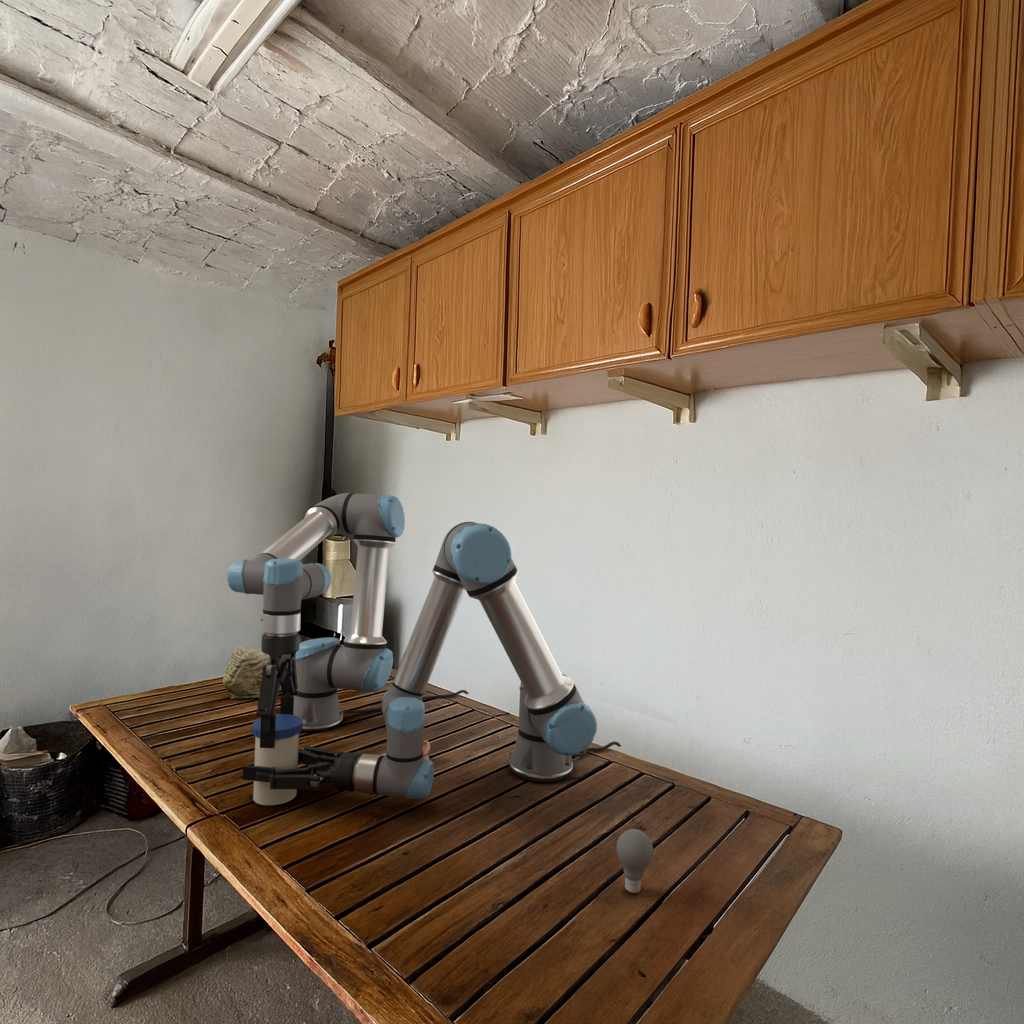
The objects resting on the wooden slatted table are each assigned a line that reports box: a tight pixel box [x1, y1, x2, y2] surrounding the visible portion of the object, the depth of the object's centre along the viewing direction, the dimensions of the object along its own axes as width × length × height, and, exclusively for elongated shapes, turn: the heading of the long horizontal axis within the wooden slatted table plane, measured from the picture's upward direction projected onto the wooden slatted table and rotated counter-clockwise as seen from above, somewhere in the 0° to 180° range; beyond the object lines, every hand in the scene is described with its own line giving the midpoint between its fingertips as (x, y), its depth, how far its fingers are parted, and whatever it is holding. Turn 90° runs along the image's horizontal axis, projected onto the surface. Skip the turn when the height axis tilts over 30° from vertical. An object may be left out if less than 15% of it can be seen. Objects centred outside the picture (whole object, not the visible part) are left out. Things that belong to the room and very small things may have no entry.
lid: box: [251, 713, 303, 739], centre depth 133 cm, size 10×10×2 cm
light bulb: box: [615, 828, 654, 894], centre depth 106 cm, size 6×6×10 cm
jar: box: [252, 733, 300, 806], centre depth 133 cm, size 9×9×15 cm
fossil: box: [222, 646, 282, 699], centre depth 198 cm, size 9×18×15 cm, turn 132°
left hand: (277, 736), depth 133 cm, fingers open, 11 cm apart
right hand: (255, 762), depth 134 cm, fingers closed on jar, 9 cm apart
